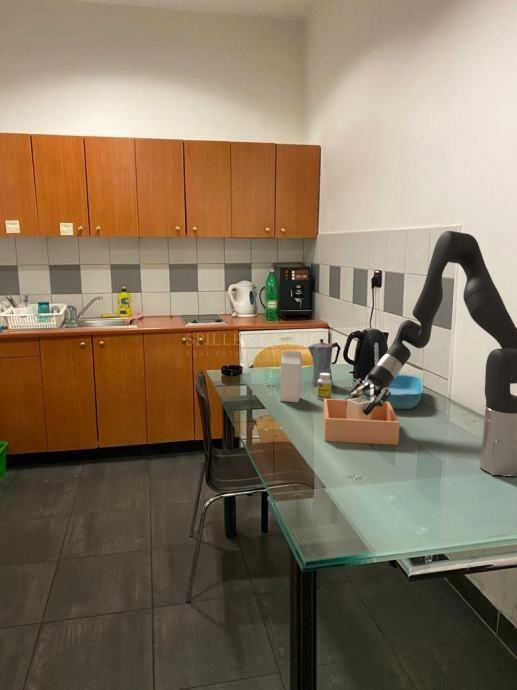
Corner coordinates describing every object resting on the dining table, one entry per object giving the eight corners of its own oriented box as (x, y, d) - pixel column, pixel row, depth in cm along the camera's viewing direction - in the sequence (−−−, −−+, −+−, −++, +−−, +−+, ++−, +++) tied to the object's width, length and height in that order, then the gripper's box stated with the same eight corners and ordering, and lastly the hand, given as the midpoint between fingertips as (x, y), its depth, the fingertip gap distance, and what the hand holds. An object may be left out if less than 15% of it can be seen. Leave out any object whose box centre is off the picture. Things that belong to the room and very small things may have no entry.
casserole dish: (367, 385, 231) (368, 369, 229) (421, 390, 225) (422, 373, 223) (359, 409, 196) (360, 390, 194) (422, 416, 190) (424, 396, 188)
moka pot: (301, 383, 230) (303, 337, 226) (331, 380, 237) (333, 336, 233) (312, 389, 222) (314, 341, 218) (344, 385, 228) (346, 339, 224)
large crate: (398, 444, 161) (399, 422, 159) (324, 440, 163) (325, 418, 161) (387, 421, 182) (389, 401, 181) (322, 418, 184) (323, 398, 183)
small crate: (359, 423, 176) (360, 397, 174) (370, 428, 171) (372, 401, 170) (345, 426, 173) (347, 399, 172) (356, 431, 169) (358, 404, 167)
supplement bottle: (314, 398, 207) (315, 374, 206) (319, 395, 212) (321, 371, 210) (328, 401, 205) (329, 376, 203) (332, 397, 210) (334, 373, 208)
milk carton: (298, 402, 202) (299, 353, 198) (279, 401, 203) (281, 352, 200) (300, 397, 209) (302, 350, 205) (282, 396, 210) (284, 349, 206)
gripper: (364, 359, 178) (335, 397, 175) (395, 368, 166) (364, 409, 163) (376, 373, 182) (347, 410, 178) (406, 383, 170) (376, 423, 166)
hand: (355, 409), depth 170 cm, fingers open, 8 cm apart
